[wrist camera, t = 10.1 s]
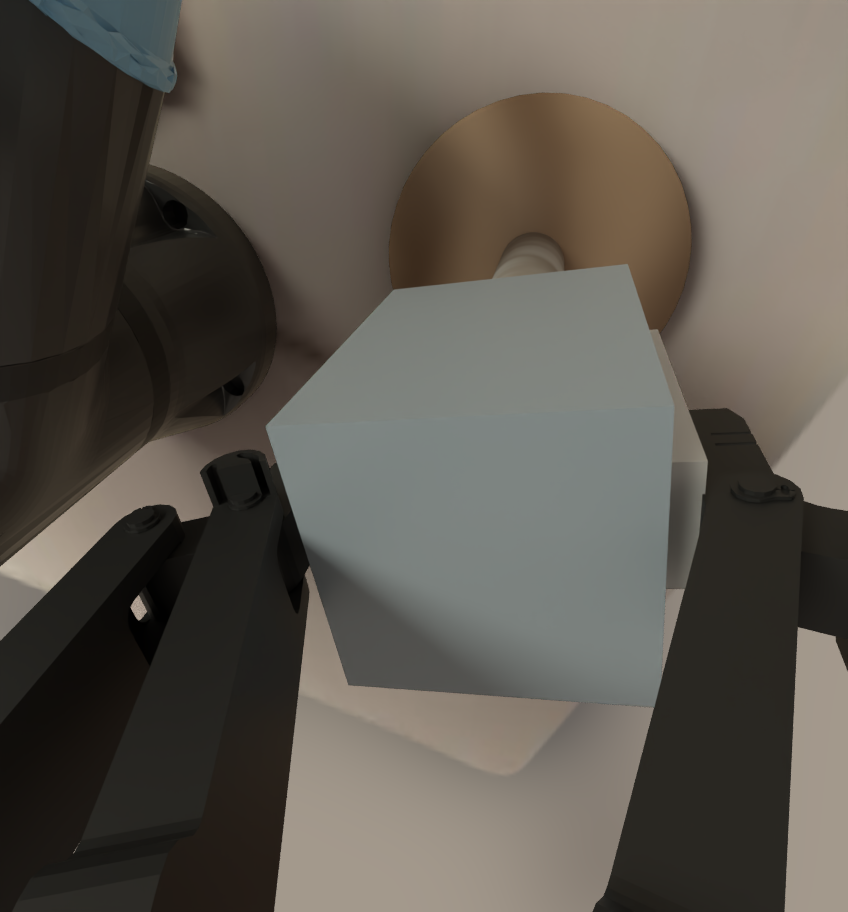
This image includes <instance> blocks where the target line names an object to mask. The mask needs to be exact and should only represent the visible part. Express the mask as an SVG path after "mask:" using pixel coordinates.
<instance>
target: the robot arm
mask: <svg viewBox="0 0 848 912" xmlns="http://www.w3.org/2000/svg"><path fill="white" fill-rule="evenodd" d="M181 3H182V0H0V566H1V565H3V564H4V563H5V562H6V561H7V560H8V559H10V558H11V557H12V556H13V555H14V554H16V553H17V552H18V551H19V550H20V549H22V548H23V547H24V546H25V545H26V544H28V543H29V542H30V541H31V540H32V539H33V538H35V537H36V536H37V535H38V534H39V533H41V532H42V531H43V530H44V529H45V528H47V527H48V526H49V525H50V524H51V523H53V522H54V521H55V520H56V519H57V518H58V517H60V516H61V515H62V514H63V513H64V512H66V511H67V510H68V509H69V508H70V507H72V506H73V505H74V504H75V503H76V502H78V501H79V500H80V499H81V498H82V497H83V496H85V495H86V494H87V493H88V492H89V491H91V490H92V489H93V488H94V487H95V486H97V485H98V484H99V483H100V482H101V481H103V480H104V479H105V478H106V477H107V476H108V475H110V474H111V473H112V472H113V471H114V470H116V469H117V468H118V467H119V466H120V465H122V464H123V463H124V462H125V461H126V460H128V459H129V458H130V457H131V456H132V455H133V454H135V453H136V452H137V451H138V450H139V449H141V448H142V447H143V446H144V445H145V444H147V443H148V442H150V441H153V440H157V439H160V438H164V437H167V436H171V435H174V434H178V433H181V432H185V431H189V430H192V429H196V428H199V427H203V426H206V425H209V424H212V423H214V422H216V421H218V420H220V419H222V418H224V417H225V416H227V415H229V414H230V413H232V412H233V411H234V410H236V409H237V408H238V407H239V406H240V405H241V404H242V403H243V402H245V401H246V400H247V399H248V398H249V397H250V396H251V395H252V394H253V393H254V392H255V391H256V390H257V388H258V387H259V386H260V384H261V383H262V381H263V379H264V378H265V376H266V374H267V372H268V370H269V367H270V365H271V362H272V358H273V355H274V350H275V344H276V330H277V326H276V312H275V305H274V300H273V296H272V292H271V288H270V285H269V282H268V279H267V276H266V274H265V271H264V269H263V266H262V264H261V262H260V260H259V258H258V256H257V254H256V252H255V250H254V249H253V247H252V245H251V244H250V242H249V241H248V239H247V238H246V236H245V235H244V233H243V232H242V230H241V229H240V228H239V227H238V225H237V224H236V223H235V222H234V220H233V219H232V218H231V217H230V216H229V215H228V214H227V213H226V212H225V211H224V210H223V209H222V208H221V207H220V206H219V205H218V204H217V203H216V202H215V201H214V200H213V199H212V198H210V197H209V196H208V195H207V194H205V193H204V192H203V191H202V190H200V189H199V188H197V187H196V186H194V185H193V184H191V183H190V182H188V181H186V180H185V179H183V178H181V177H179V176H177V175H175V174H173V173H171V172H169V171H166V170H164V169H161V168H158V167H155V166H152V165H149V162H150V157H151V153H152V148H153V144H154V139H155V135H156V131H157V126H158V122H159V117H160V113H161V108H162V104H163V99H164V95H165V92H167V93H170V91H171V90H173V88H174V86H175V84H176V81H177V71H176V67H175V64H174V62H173V60H172V58H173V52H174V46H175V40H176V34H177V27H178V21H179V15H180V9H181ZM650 333H651V336H652V339H653V342H654V345H655V348H656V351H657V354H658V357H659V360H660V363H661V366H662V370H663V373H664V376H665V379H666V382H667V385H668V388H669V391H670V394H671V397H672V400H673V403H674V427H673V448H672V468H671V489H670V510H669V531H668V552H667V572H666V589H685V591H684V595H683V599H682V602H681V606H680V610H679V614H678V618H677V622H676V626H675V629H674V633H673V638H672V641H671V645H670V649H669V652H668V657H667V660H666V664H665V668H664V672H663V676H662V679H661V683H660V687H659V691H658V695H657V699H656V702H655V706H654V710H653V715H652V718H651V722H650V726H649V729H648V733H647V737H646V741H645V745H644V749H643V753H642V756H641V760H640V764H639V768H638V772H637V776H636V779H635V783H634V787H633V791H632V795H631V799H630V803H629V807H628V810H627V814H626V818H625V822H624V826H623V829H622V834H621V837H620V841H619V845H618V849H617V853H616V857H615V860H614V865H613V868H612V872H611V876H610V879H609V882H608V886H607V889H606V891H605V893H604V896H603V897H602V898H601V899H600V900H599V901H598V902H597V903H596V905H595V907H594V910H593V912H784V909H785V888H786V866H787V845H788V824H789V823H788V822H789V802H790V800H789V799H790V780H791V758H792V738H793V715H794V695H795V673H796V652H797V630H798V627H800V628H804V629H808V630H813V631H816V632H820V633H824V634H828V635H832V636H836V643H837V645H838V648H839V650H840V652H841V655H842V658H843V660H844V663H845V665H846V668H847V670H848V511H843V510H837V509H831V508H827V507H822V506H817V505H814V504H811V503H808V502H805V501H803V500H804V498H803V495H802V492H801V489H800V488H799V487H798V486H796V485H795V484H794V483H793V482H791V481H790V480H788V479H785V478H783V477H780V476H778V475H776V474H774V473H773V472H772V470H771V468H770V466H769V464H768V462H767V461H766V459H765V457H764V455H763V453H762V451H761V450H760V448H759V446H758V445H756V440H755V438H754V437H753V435H752V434H751V431H750V429H749V427H748V426H747V424H746V422H745V420H744V419H743V418H742V417H740V416H739V415H737V414H735V413H734V412H732V411H731V410H729V409H727V408H723V409H703V410H688V408H687V405H686V402H685V400H684V397H683V394H682V392H681V389H680V387H679V384H678V381H677V379H676V376H675V373H674V371H673V368H672V365H671V363H670V360H669V358H668V355H667V352H666V350H665V347H664V344H663V342H662V339H661V336H660V334H659V331H658V329H654V330H650ZM200 474H201V477H202V479H203V482H204V484H205V487H206V489H207V492H208V494H209V497H210V499H211V502H212V504H213V509H212V512H211V514H210V516H209V517H204V518H199V519H195V520H190V521H185V522H181V521H180V519H179V516H178V514H177V512H176V509H175V508H173V507H172V506H170V505H161V504H160V505H154V506H146V507H142V509H141V508H139V509H137V510H134V511H133V512H132V513H131V514H129V515H127V516H125V517H123V518H122V519H121V520H120V521H118V522H117V523H116V524H115V525H114V526H113V527H112V528H111V529H110V530H109V531H108V532H107V533H106V534H105V535H104V536H103V537H102V538H101V539H100V540H99V541H98V542H97V543H96V544H95V545H94V546H93V547H92V548H91V549H90V550H89V551H88V552H87V553H86V554H85V555H84V556H83V557H82V558H81V559H80V560H79V561H78V562H77V563H76V564H75V565H74V566H73V567H72V568H71V569H70V570H69V572H68V573H67V574H66V575H65V576H64V577H63V578H62V579H61V580H60V581H59V582H58V583H57V584H56V585H55V586H54V587H53V588H52V589H51V590H50V591H49V592H48V593H47V594H46V595H45V596H44V597H43V598H42V599H41V600H40V601H39V602H38V603H37V604H36V605H35V606H34V607H33V608H32V609H31V610H30V611H29V612H28V613H27V614H26V615H25V616H24V617H23V618H22V619H21V620H20V621H19V623H18V624H17V625H16V626H15V627H14V628H13V629H12V630H11V631H10V632H9V633H8V634H7V635H6V636H5V637H4V638H3V639H2V640H1V641H0V912H274V906H275V897H276V888H277V878H278V870H279V861H280V852H281V843H282V834H283V825H284V816H285V807H286V798H287V790H288V789H287V788H288V781H289V772H290V762H291V754H292V744H293V735H294V726H295V718H296V708H297V699H298V691H299V682H300V673H301V664H302V655H303V646H304V637H305V628H306V619H307V610H308V601H309V587H308V584H307V580H306V577H305V573H306V571H307V569H308V567H309V566H310V564H309V561H308V558H307V554H306V551H305V548H304V545H303V542H302V539H301V536H300V533H299V530H298V526H297V523H296V520H295V517H294V514H293V511H292V508H291V505H290V502H289V499H288V495H287V492H286V489H285V486H284V483H283V480H282V477H281V474H280V471H279V467H278V464H277V463H274V465H273V466H272V467H271V468H269V465H268V462H267V459H266V456H265V454H263V453H262V452H260V451H256V450H242V451H236V452H233V453H229V454H226V455H223V456H221V457H219V458H217V459H214V460H213V461H211V462H210V463H209V464H207V465H206V466H205V467H204V468H203V469H202V470H201V472H200ZM138 595H139V596H140V598H141V600H142V602H143V604H144V606H145V608H146V610H147V612H146V614H145V615H144V616H143V618H142V619H141V620H139V621H138V620H137V619H136V617H135V615H134V613H133V612H132V610H131V608H130V607H131V605H132V603H133V601H134V600H135V599H136V597H137V596H138ZM78 844H79V845H78ZM77 846H78V847H77ZM76 848H77V849H76ZM75 849H76V851H75ZM74 851H75V852H74ZM73 852H74V853H73Z"/></svg>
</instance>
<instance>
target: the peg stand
mask: <svg viewBox="0 0 848 912" xmlns="http://www.w3.org/2000/svg"><path fill="white" fill-rule="evenodd" d="M690 254H691V222H690V215H689V209H688V203H687V200H686V197H685V194H684V190H683V187H682V184H681V182H680V180H679V178H678V175H677V173H676V171H675V169H674V167H673V165H672V163H671V162H670V160H669V159H668V157H667V156H666V154H665V153H664V151H663V150H662V149H661V147H660V146H659V145H658V144H657V142H656V141H655V140H654V139H653V138H652V137H651V136H650V135H649V134H648V133H647V132H646V131H645V130H644V129H643V128H642V127H640V126H639V125H638V124H637V123H635V122H634V121H633V120H631V119H630V118H629V117H628V116H626V115H624V114H622V113H621V112H619V111H617V110H615V109H613V108H611V107H610V106H608V105H605V104H602V103H600V102H597V101H594V100H591V99H588V98H585V97H580V96H575V95H569V94H562V93H536V94H527V95H519V96H515V97H511V98H508V99H504V100H500V101H497V102H495V103H492V104H490V105H488V106H485V107H483V108H481V109H478V110H476V111H475V112H473V113H471V114H470V115H468V116H466V117H465V118H463V119H461V120H460V121H458V122H457V123H456V124H455V125H453V126H452V127H451V128H450V129H448V130H447V131H446V132H445V133H443V134H442V135H441V136H440V137H439V138H438V139H437V140H436V141H435V142H434V143H433V144H432V145H431V147H430V148H429V149H428V150H427V151H426V152H425V154H424V155H423V156H422V158H421V159H420V160H419V162H418V163H417V165H416V166H415V167H414V169H413V171H412V173H411V174H410V176H409V178H408V180H407V182H406V183H405V185H404V187H403V190H402V193H401V195H400V198H399V200H398V203H397V205H396V209H395V213H394V217H393V221H392V225H391V233H390V241H389V267H390V275H391V283H392V287H393V290H396V289H405V288H414V287H423V286H432V285H441V284H450V283H459V282H468V281H477V280H487V279H496V278H505V277H514V276H523V275H532V274H541V273H550V272H559V271H568V270H577V269H587V268H596V267H605V266H614V265H623V264H628V266H629V269H630V272H631V275H632V278H633V281H634V284H635V287H636V291H637V294H638V297H639V300H640V303H641V306H642V309H643V312H644V315H645V318H646V321H647V324H648V327H649V330H654V329H658V331H659V334H660V333H661V331H662V330H663V329H664V327H665V326H666V324H667V322H668V321H669V319H670V317H671V315H672V313H673V312H674V310H675V308H676V306H677V303H678V301H679V298H680V296H681V293H682V291H683V288H684V284H685V281H686V277H687V273H688V269H689V262H690Z"/></svg>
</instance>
